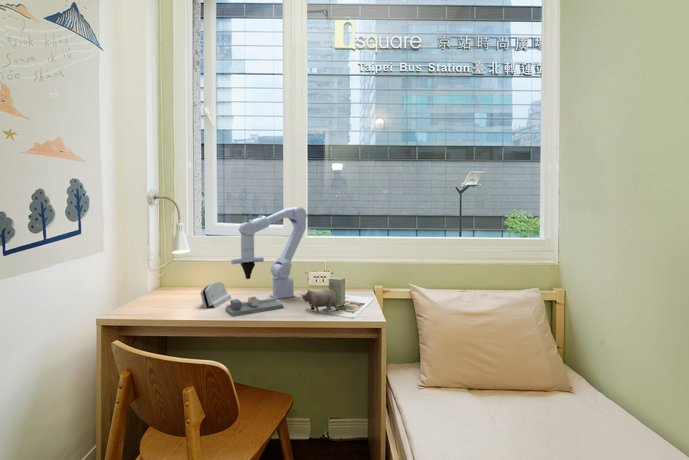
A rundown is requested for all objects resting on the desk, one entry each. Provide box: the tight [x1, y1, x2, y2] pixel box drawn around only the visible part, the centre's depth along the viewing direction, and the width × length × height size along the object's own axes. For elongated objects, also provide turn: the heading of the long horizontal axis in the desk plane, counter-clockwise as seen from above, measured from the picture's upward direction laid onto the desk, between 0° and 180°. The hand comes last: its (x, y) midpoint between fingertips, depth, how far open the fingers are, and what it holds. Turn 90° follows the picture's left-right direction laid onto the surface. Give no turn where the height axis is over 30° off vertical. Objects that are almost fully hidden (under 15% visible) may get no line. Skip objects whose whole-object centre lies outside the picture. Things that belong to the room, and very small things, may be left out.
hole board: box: [225, 297, 284, 317], centre depth 157 cm, size 22×9×5 cm, turn 124°
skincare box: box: [328, 276, 346, 307], centre depth 165 cm, size 6×4×12 cm
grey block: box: [247, 296, 260, 306], centre depth 157 cm, size 3×5×4 cm, turn 34°
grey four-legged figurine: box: [300, 288, 339, 314], centre depth 156 cm, size 8×14×15 cm
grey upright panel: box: [200, 281, 232, 309], centre depth 167 cm, size 17×5×10 cm, turn 173°
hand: (247, 278), depth 170 cm, fingers closed
